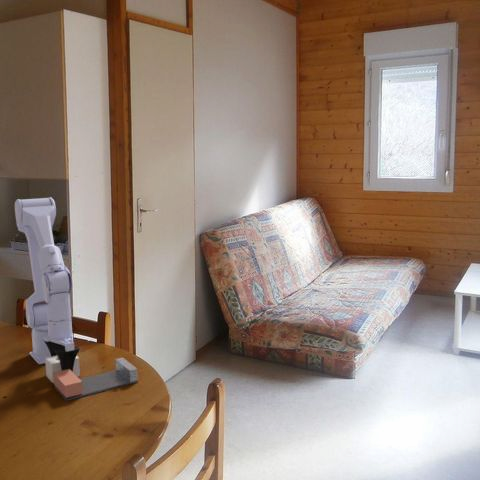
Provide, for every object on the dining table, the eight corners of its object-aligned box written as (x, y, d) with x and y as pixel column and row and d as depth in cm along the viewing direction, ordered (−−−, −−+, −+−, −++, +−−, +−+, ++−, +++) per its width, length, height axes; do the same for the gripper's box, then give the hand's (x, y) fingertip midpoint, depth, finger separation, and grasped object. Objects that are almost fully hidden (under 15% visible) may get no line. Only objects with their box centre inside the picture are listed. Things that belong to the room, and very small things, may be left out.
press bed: (54, 387, 143) (53, 373, 142) (123, 370, 153) (122, 357, 152) (66, 401, 136) (65, 387, 135) (137, 382, 146) (137, 368, 145)
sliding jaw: (53, 384, 143) (53, 372, 142) (70, 380, 145) (69, 368, 145) (66, 397, 136) (65, 385, 135) (82, 393, 138) (82, 381, 137)
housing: (46, 376, 150) (45, 356, 149) (73, 369, 154) (72, 350, 153) (52, 383, 146) (51, 362, 145) (80, 376, 150) (78, 356, 149)
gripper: (34, 313, 151) (38, 363, 153) (52, 329, 139) (56, 383, 141) (62, 309, 155) (65, 357, 157) (81, 323, 143) (84, 376, 145)
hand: (62, 369), depth 149 cm, fingers open, 7 cm apart
